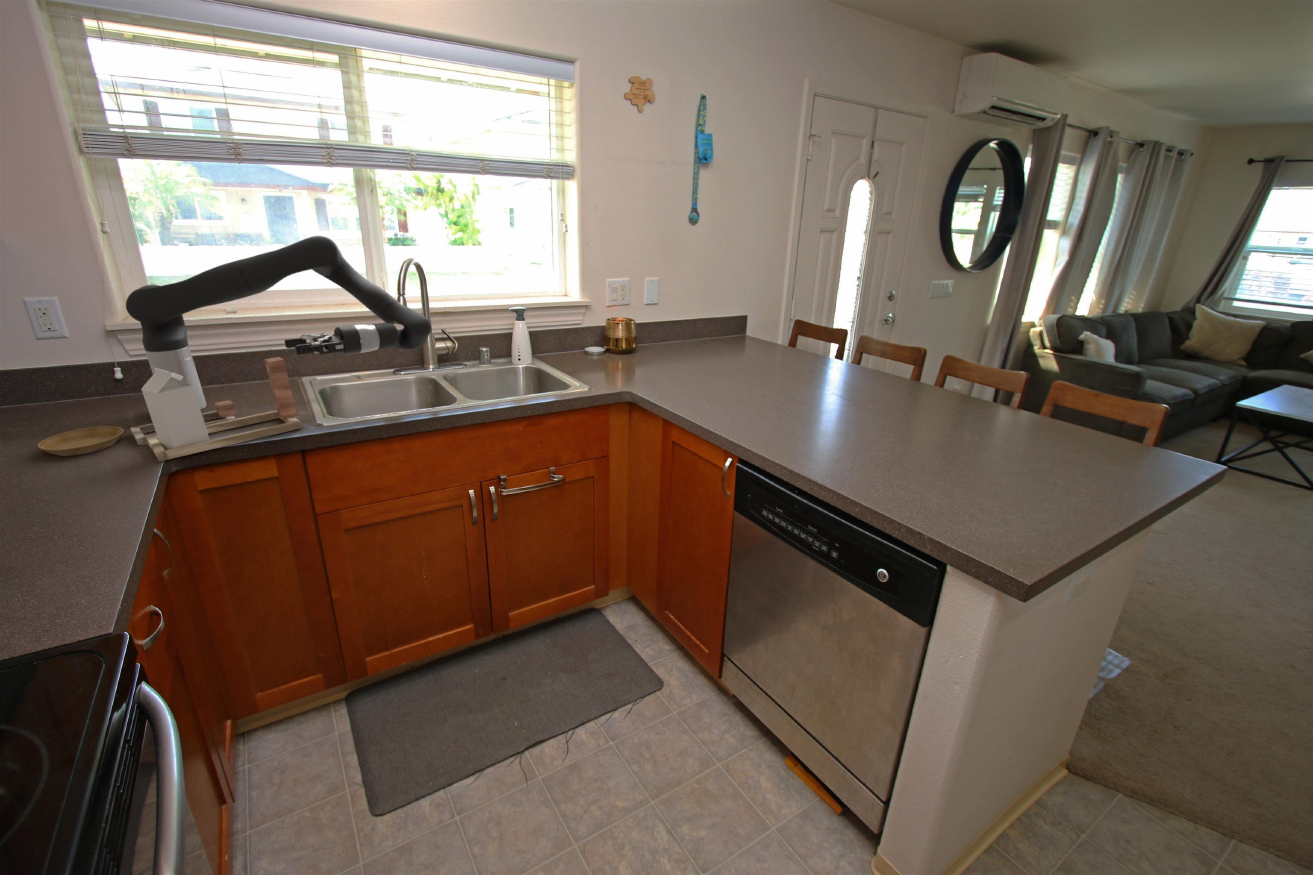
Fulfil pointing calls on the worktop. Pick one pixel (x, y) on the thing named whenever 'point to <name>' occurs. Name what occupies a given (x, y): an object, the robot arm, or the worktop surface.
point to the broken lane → (223, 410)
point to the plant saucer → (81, 440)
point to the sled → (245, 418)
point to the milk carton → (174, 410)
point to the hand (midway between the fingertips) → (290, 347)
